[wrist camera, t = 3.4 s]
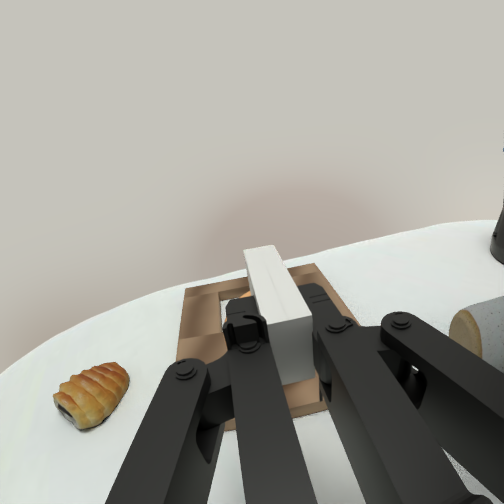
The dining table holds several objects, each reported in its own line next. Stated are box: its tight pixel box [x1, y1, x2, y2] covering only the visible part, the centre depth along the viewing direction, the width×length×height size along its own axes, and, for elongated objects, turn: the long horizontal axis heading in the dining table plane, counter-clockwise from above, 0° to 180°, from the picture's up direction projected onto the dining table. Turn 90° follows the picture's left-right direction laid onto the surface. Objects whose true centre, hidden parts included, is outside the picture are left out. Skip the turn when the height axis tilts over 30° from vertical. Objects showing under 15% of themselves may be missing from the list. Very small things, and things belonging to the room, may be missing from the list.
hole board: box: [176, 263, 361, 431], centre depth 36 cm, size 20×26×2 cm
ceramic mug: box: [449, 296, 504, 373], centre depth 20 cm, size 11×8×8 cm
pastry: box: [53, 362, 129, 429], centre depth 28 cm, size 9×7×4 cm
